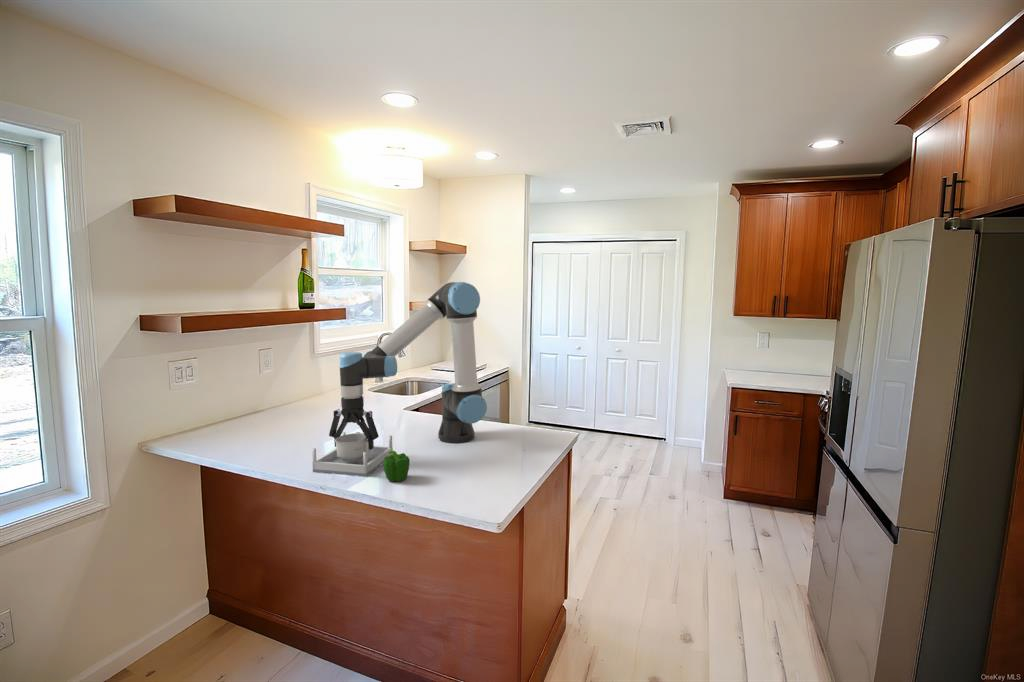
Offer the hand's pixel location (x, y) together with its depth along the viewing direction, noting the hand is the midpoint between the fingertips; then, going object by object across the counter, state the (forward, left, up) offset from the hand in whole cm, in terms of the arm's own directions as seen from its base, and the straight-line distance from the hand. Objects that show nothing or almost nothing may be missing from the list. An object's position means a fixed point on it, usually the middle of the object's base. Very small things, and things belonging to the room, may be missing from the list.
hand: (354, 456), depth 177 cm
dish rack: (0, 0, -3) cm, 3 cm away
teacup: (0, 0, 0) cm, 0 cm away
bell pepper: (-21, +10, -3) cm, 23 cm away
